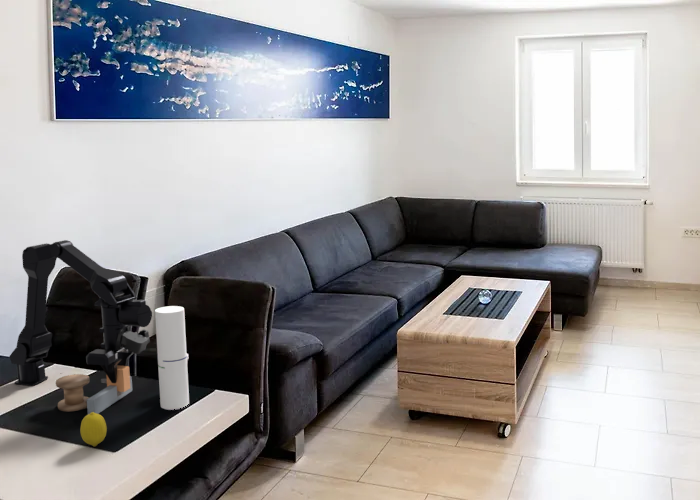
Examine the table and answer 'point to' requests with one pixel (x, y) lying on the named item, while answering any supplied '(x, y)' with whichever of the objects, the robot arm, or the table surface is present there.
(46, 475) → the table surface
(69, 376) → the bobbin
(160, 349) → the cylindrical container
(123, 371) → the orange block
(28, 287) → the robot arm
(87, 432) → the lemon
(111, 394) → the notch board
